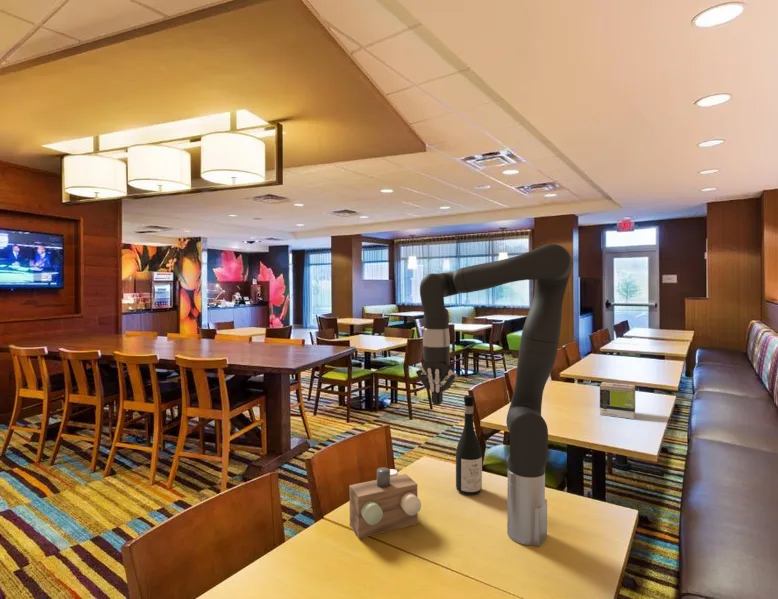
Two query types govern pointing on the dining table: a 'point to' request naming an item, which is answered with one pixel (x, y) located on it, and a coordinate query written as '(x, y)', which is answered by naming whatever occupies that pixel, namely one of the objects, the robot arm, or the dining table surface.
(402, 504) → the knob cream
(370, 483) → the brown wooden block
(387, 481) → the dark grey cylinder
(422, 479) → the dining table surface
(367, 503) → the knob sage
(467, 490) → the wine bottle
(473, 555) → the dining table surface
